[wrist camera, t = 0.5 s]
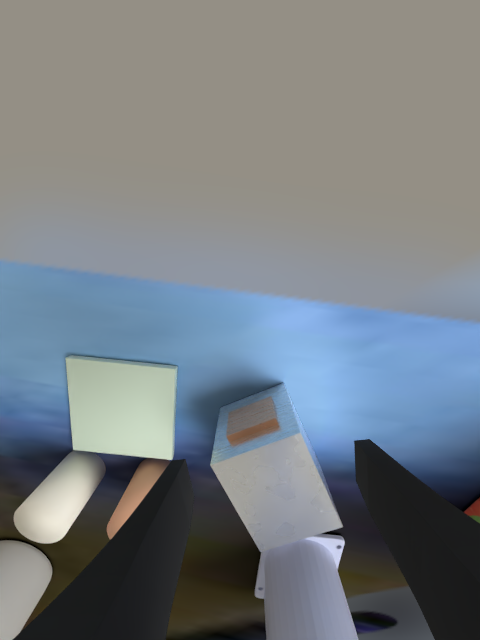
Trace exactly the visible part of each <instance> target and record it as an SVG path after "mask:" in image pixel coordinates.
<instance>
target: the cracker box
mask: <svg viewBox="0 0 480 640" xmlns="http://www.w3.org/2000/svg"><path fill="white" fill-rule="evenodd" d="M464 513H465V514H467V515H468V516H470V517H471V518H473V519H474V520H475V521H477V522H478V523H480V497H479V498H478V499H477V500H476V501H475V502H474V503H473V504H472V505H471V506H470V507H468V508H467V509H466V510H465V511H464Z"/></svg>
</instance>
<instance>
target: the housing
mask: <svg viewBox="0 0 480 640" xmlns="http://www.w3.org/2000/svg"><path fill="white" fill-rule="evenodd" d="M210 465H211V467H212V469H213V471H214V472H215V474H216V476H217V478H218V479H219V481H220V483H221V484H222V486H223V488H224V490H225V491H226V493H227V495H228V497H229V498H230V500H231V502H232V504H233V505H234V507H235V509H236V511H237V512H238V514H239V516H240V518H241V519H242V521H243V523H244V525H245V526H246V528H247V530H248V531H249V533H250V535H251V537H252V538H253V540H254V542H255V544H256V545H257V547H258V549H259V551H260V552H262V551H266V550H269V549H272V548H275V547H279V546H282V545H285V544H289V543H292V542H295V541H298V540H302V539H305V538H308V537H312V536H315V535H318V534H322V533H325V532H328V531H331V530H335V529H338V528H341V527H343V526H342V523H341V520H340V518H339V515H338V512H337V510H336V507H335V504H334V502H333V499H332V496H331V494H330V491H329V488H328V485H327V483H326V480H325V477H324V475H323V472H322V469H321V467H320V464H319V461H318V459H317V456H316V454H315V451H314V449H313V447H312V445H311V442H310V440H309V438H308V436H307V433H306V431H305V429H304V427H303V424H302V422H301V420H300V418H299V415H298V413H297V411H296V409H295V406H294V404H293V402H292V400H291V397H290V395H289V393H288V391H287V388H286V386H285V384H284V383H282V384H280V385H277V386H274V387H272V388H269V389H267V390H264V391H262V392H259V393H256V394H254V395H251V396H249V397H246V398H244V399H241V400H238V401H236V402H233V403H231V404H228V405H226V406H223V407H220V412H219V418H218V424H217V429H216V435H215V441H214V447H213V453H212V459H211V464H210Z"/></svg>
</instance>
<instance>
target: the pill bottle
mask: <svg viewBox="0 0 480 640" xmlns="http://www.w3.org/2000/svg"><path fill="white" fill-rule="evenodd" d="M51 577H52V566H51V563H50V561H49V560H48V558H47V557H46V556H45V555H44V554H43V553H42V552H41V551H40V550H38V549H37V548H35V547H33V546H31V545H29V544H26V543H23V542H20V541H14V540H3V541H0V640H13V639H14V638H15V637H16V636H17V635H18V634H19V633H20V631H21V630H22V628H23V626H24V625H25V623H26V621H27V620H28V618H29V616H30V615H31V613H32V611H33V610H34V608H35V606H36V605H37V603H38V601H39V600H40V598H41V597H42V595H43V593H44V592H45V590H46V588H47V586H48V584H49V582H50V580H51Z"/></svg>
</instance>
